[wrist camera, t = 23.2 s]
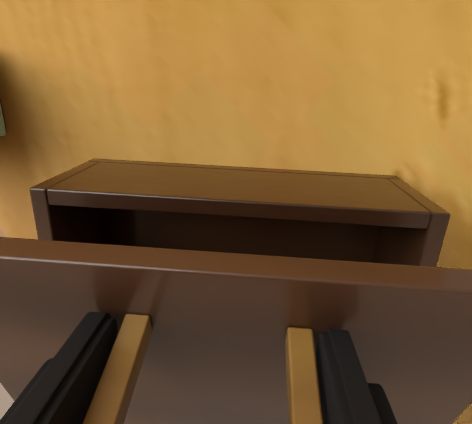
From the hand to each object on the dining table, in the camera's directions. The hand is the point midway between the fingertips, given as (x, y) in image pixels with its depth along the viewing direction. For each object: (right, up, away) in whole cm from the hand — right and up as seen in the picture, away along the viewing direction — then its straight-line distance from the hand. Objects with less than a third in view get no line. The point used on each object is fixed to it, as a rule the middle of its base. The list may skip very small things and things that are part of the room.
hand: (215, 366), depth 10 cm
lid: (0, -3, +4) cm, 5 cm away
